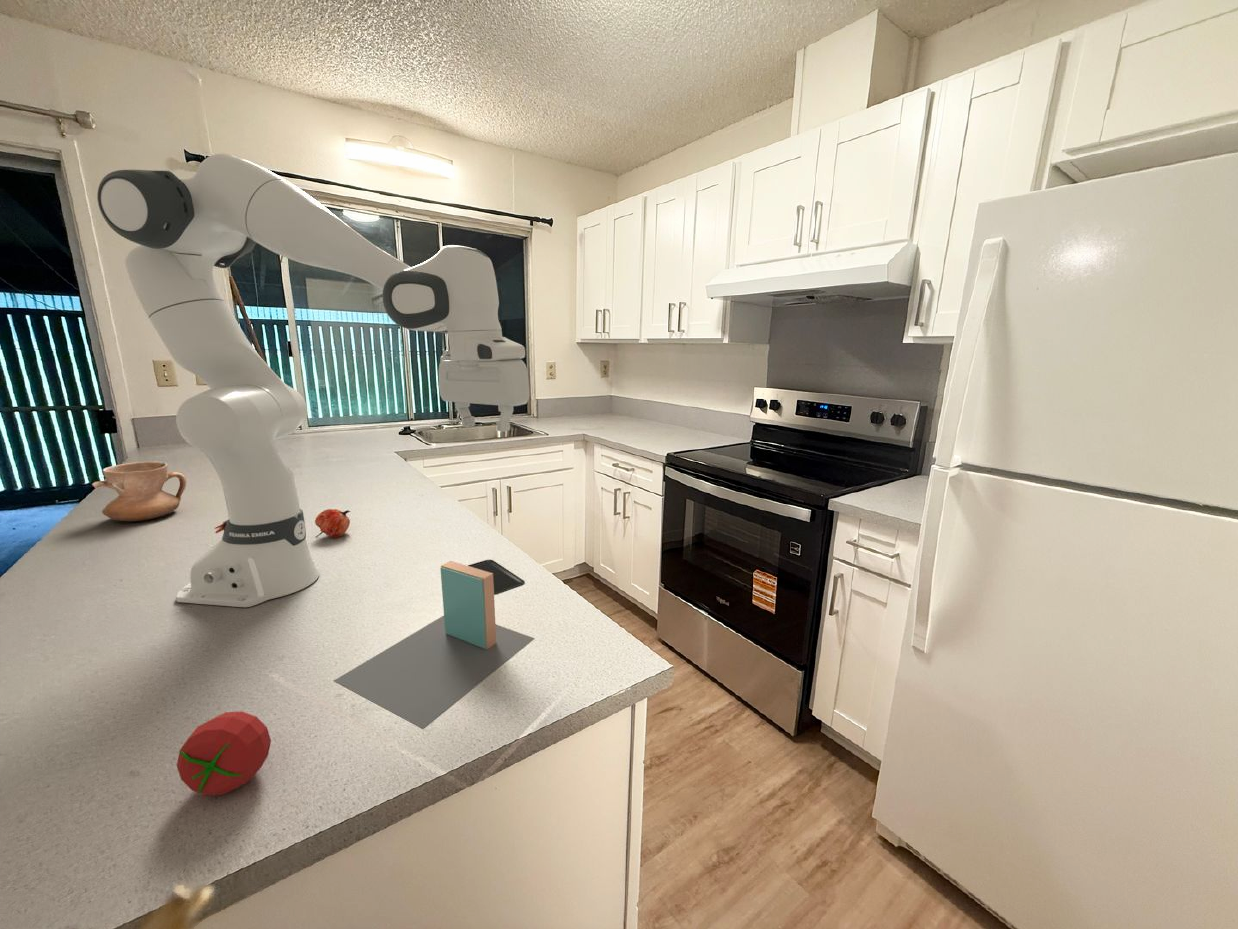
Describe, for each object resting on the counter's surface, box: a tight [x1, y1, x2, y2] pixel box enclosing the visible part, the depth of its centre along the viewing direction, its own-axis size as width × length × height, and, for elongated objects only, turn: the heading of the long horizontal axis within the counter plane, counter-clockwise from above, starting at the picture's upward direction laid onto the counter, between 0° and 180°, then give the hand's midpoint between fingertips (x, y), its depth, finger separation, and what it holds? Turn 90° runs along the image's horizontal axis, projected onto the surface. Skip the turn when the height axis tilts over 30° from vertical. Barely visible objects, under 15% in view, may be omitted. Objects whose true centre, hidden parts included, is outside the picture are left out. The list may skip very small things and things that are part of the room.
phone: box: [467, 559, 526, 596], centre depth 99 cm, size 8×1×15 cm
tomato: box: [176, 711, 272, 797], centre depth 51 cm, size 8×8×8 cm
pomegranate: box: [314, 508, 351, 539], centre depth 119 cm, size 7×7×10 cm
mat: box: [333, 615, 535, 730], centre depth 73 cm, size 22×18×1 cm
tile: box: [440, 560, 497, 649], centre depth 77 cm, size 2×9×12 cm, turn 62°
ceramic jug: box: [91, 461, 187, 522], centre depth 130 cm, size 18×14×14 cm
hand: (485, 428), depth 86 cm, fingers open, 8 cm apart
